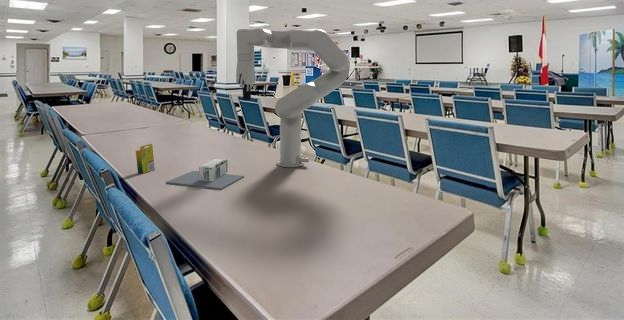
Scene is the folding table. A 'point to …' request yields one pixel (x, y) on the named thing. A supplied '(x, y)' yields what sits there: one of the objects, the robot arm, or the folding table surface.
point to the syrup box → (213, 169)
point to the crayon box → (145, 159)
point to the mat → (194, 181)
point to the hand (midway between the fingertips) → (246, 100)
